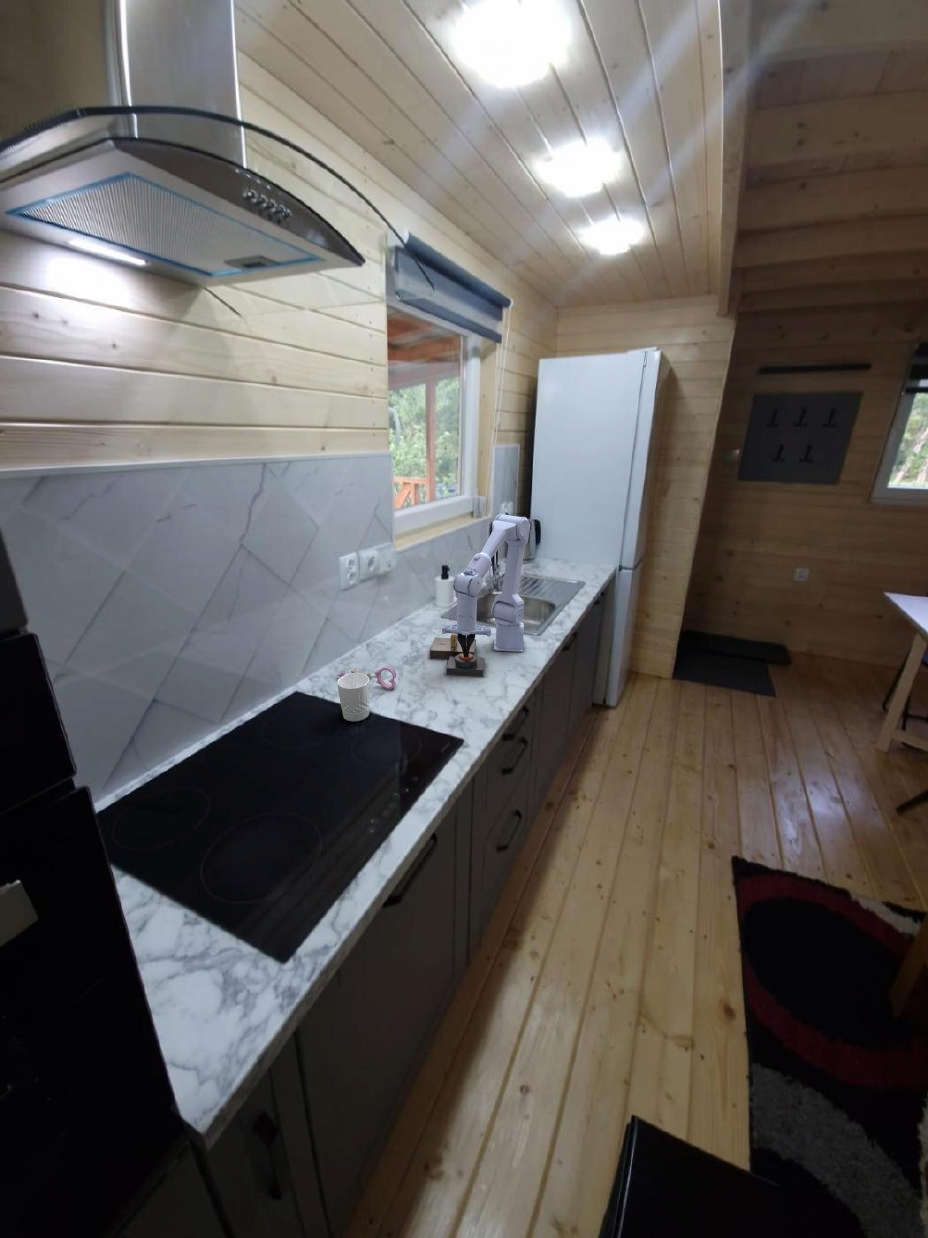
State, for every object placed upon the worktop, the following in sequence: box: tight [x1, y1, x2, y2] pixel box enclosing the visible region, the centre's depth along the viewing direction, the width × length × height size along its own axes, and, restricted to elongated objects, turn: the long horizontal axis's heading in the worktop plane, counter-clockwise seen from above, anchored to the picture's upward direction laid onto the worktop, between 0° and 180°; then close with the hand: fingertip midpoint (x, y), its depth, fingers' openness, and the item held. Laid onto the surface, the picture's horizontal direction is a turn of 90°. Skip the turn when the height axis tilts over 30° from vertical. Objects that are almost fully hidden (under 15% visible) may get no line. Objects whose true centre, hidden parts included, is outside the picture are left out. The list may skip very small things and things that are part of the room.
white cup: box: [336, 672, 371, 722], centre depth 126 cm, size 8×8×10 cm
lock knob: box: [450, 633, 457, 647], centre depth 160 cm, size 5×2×4 cm, turn 175°
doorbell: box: [446, 653, 486, 677], centre depth 151 cm, size 11×8×4 cm
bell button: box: [460, 654, 472, 661], centre depth 150 cm, size 4×4×2 cm
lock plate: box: [429, 636, 477, 660], centre depth 161 cm, size 14×10×3 cm
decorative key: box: [335, 665, 397, 690], centre depth 142 cm, size 7×1×20 cm
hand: (466, 655), depth 150 cm, fingers closed, pressing on bell button
